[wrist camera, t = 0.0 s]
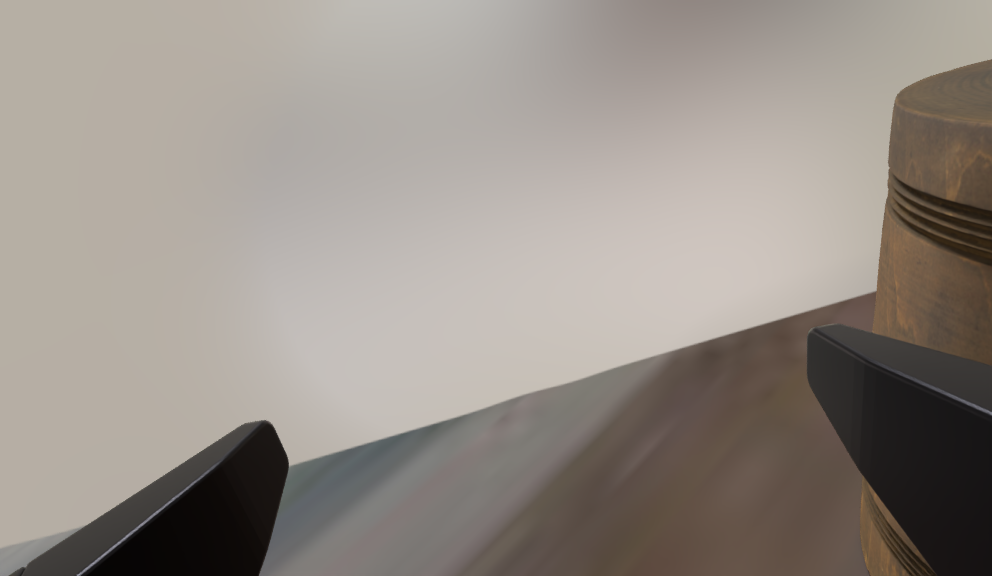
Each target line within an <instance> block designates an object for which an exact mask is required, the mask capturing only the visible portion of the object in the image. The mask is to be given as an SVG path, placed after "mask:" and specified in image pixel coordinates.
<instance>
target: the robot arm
mask: <svg viewBox="0 0 992 576" xmlns="http://www.w3.org/2000/svg"><path fill="white" fill-rule="evenodd" d="M807 378H808V382H809V385H810V387H811V389H812V391H813V393H814V394H815V396H816V398H817V399H818V401H819V403H820V405H821V406H822V408H823V410H824V412H825V413H826V415H827V417H828V418H829V420H830V422H831V424H832V425H833V427H834V429H835V430H836V432H837V434H838V436H839V437H840V439H841V441H842V443H843V444H844V446H845V448H846V449H847V451H848V453H849V455H850V456H851V458H852V460H853V461H854V463H855V464H856V466H857V468H858V469H859V471H860V472H861V474H862V475H863V476H864V478H865V479H866V481H867V482H868V483H869V485H870V486H871V488H872V489H873V490H874V492H875V493H876V494H877V496H878V497H879V498H880V500H881V501H882V502H883V504H884V505H885V506H886V508H887V509H888V510H889V512H890V513H891V515H892V516H893V517H894V519H895V520H896V521H897V523H898V524H899V525H900V527H901V528H902V529H903V531H904V532H905V533H906V535H907V536H908V537H909V539H910V540H911V541H912V543H913V544H914V546H915V547H916V548H917V550H918V551H919V552H920V554H921V555H922V556H923V558H924V559H925V560H926V562H927V563H928V564H929V566H930V567H931V568H932V570H933V571H934V573H935V574H936V575H937V576H992V365H988V364H984V363H981V362H977V361H973V360H970V359H966V358H962V357H959V356H955V355H952V354H948V353H944V352H941V351H937V350H933V349H930V348H926V347H923V346H919V345H915V344H912V343H908V342H904V341H901V340H897V339H893V338H890V337H886V336H883V335H879V334H875V333H872V332H868V331H864V330H861V329H857V328H854V327H850V326H846V325H843V324H830V325H824V326H818V327H814V328H811V329H810V331H809V332H808V335H807ZM288 468H289V462H288V457H287V455H286V452H285V450H284V448H283V446H282V444H281V441H280V439H279V437H278V435H277V433H276V430H275V428H274V427H273V425H272V424H271V423H270V422H269V421H266V420H261V421H255V422H250V423H245V424H243V425H241V426H240V427H238V428H236V429H235V430H233V431H232V432H230V433H229V434H227V435H226V436H224V437H223V438H221V439H219V440H218V441H216V442H215V443H213V444H212V445H210V446H209V447H207V448H206V449H204V450H203V451H201V452H199V453H198V454H197V455H195V456H193V457H192V458H190V459H189V460H187V461H185V462H184V463H182V464H181V465H179V466H178V467H176V468H175V469H173V470H171V471H170V472H168V473H167V474H165V475H164V476H163V477H161V478H159V479H158V480H156V481H154V482H153V483H152V484H150V485H148V486H147V487H145V488H144V489H142V490H141V491H139V492H137V493H136V494H134V495H133V496H131V497H130V498H128V499H127V500H125V501H124V502H122V503H121V504H119V505H117V506H116V507H115V508H113V509H111V510H110V511H108V512H107V513H105V514H104V515H102V516H100V517H99V518H97V519H96V520H94V521H93V522H91V523H89V524H88V525H86V526H85V527H83V528H82V529H80V530H79V531H77V532H76V533H74V534H72V535H71V536H69V537H68V538H66V539H65V540H63V541H62V542H60V543H59V544H57V545H55V546H54V547H52V548H51V549H49V550H48V551H46V552H45V553H43V554H42V555H40V556H38V557H37V558H35V559H34V560H32V561H31V562H29V563H28V564H27V566H26V567H22V568H20V569H18V570H17V571H15V572H14V573H12V574H10V575H9V576H259V573H260V571H261V568H262V565H263V562H264V559H265V556H266V553H267V550H268V546H269V543H270V540H271V536H272V532H273V528H274V524H275V520H276V517H277V513H278V509H279V505H280V501H281V497H282V493H283V489H284V486H285V482H286V478H287V474H288Z"/></svg>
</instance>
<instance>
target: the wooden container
mask: <svg viewBox="0 0 992 576" xmlns="http://www.w3.org/2000/svg"><path fill="white" fill-rule="evenodd" d="M888 163H889V167H890V169H889V179H888V189H889V190H888V197H887V200H886V205H885V213H884V220H883V228H882V239H881V248H880V259H879V269H878V281H877V296H876V305H875V314H874V324H873V332H872V333H875V334H879V335H883V336H886V337H890V338H893V339H897V340H901V341H904V342H908V343H912V344H915V345H919V346H923V347H926V348H930V349H933V350H937V351H941V352H944V353H948V354H952V355H955V356H959V357H962V358H966V359H970V360H973V361H977V362H981V363H984V364H988V365H992V60H987V61H983V62H979V63H975V64H971V65H967V66H964V67H960V68H956V69H954V70H951V71H947V72H943V73H939V74H936V75H933V76H930V77H927V78H925V79H922V80H920V81H918V82H916V83H914V84H912V85H910V86H908V87H906V88H904V89H903V90H902V91H900V93H899V94H897V97H896V99H895V103H894V109H893V116H892V125H891V134H890V145H889V160H888ZM860 538H861V545H862V551H863V555H864V559H865V563H866V566H867V569H868V571H869V573H870V575H871V576H937V575H936V574H935V573H934V571H933V570H932V568H931V567H930V566H929V564H928V563H927V562H926V560H925V559H924V558H923V556H922V555H921V554H920V552H919V551H918V550H917V548H916V547H915V546H914V544H913V543H912V541H911V540H910V539H909V537H908V536H907V535H906V533H905V532H904V531H903V529H902V528H901V527H900V525H899V524H898V523H897V521H896V520H895V519H894V517H893V516H892V515H891V513H890V512H889V510H888V509H887V508H886V506H885V505H884V504H883V502H882V501H881V500H880V498H879V497H878V496H877V494H876V493H875V492H874V490H873V489H872V488H871V486H870V485H869V483H868V482H867V481H866V479H865V478H864V476H862V493H861V513H860Z"/></svg>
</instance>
